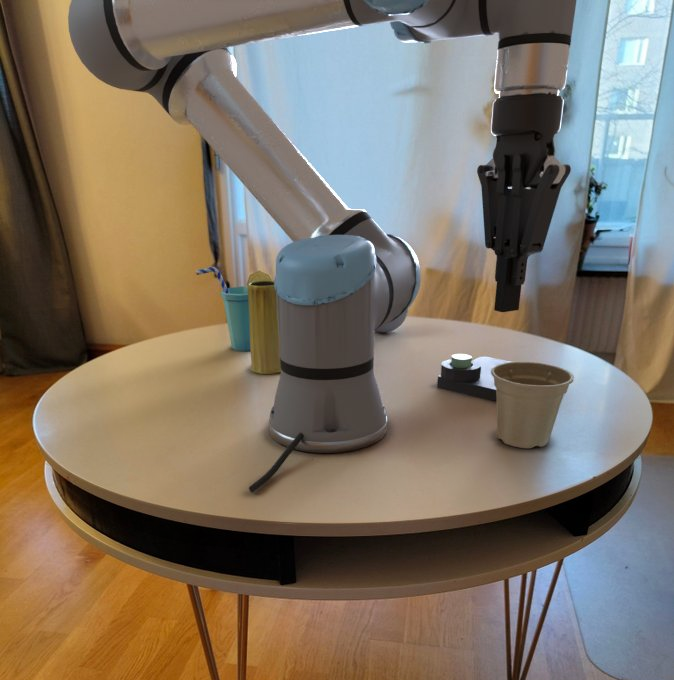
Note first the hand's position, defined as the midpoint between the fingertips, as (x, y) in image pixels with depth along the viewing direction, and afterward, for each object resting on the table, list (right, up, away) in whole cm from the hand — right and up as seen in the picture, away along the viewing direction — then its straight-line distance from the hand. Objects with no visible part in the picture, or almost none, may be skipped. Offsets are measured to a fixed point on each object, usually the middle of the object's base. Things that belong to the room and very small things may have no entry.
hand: (506, 309), depth 77 cm
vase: (-33, -4, +27) cm, 42 cm away
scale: (+4, -7, +18) cm, 20 cm away
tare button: (-2, -5, +16) cm, 17 cm away
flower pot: (+2, -17, -1) cm, 17 cm away
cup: (-40, +2, +39) cm, 56 cm away
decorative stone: (-12, +6, +48) cm, 50 cm away
